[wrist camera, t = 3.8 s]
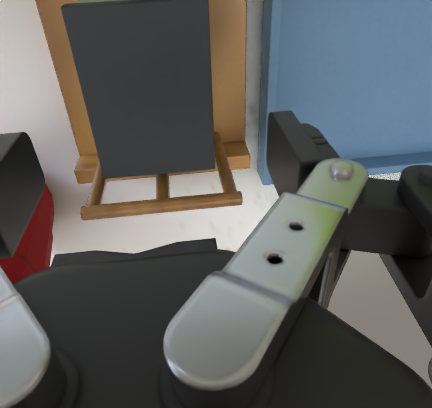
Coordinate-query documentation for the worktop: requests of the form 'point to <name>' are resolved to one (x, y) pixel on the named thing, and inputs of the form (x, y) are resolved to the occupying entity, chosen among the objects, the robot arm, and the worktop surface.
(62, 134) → the worktop surface
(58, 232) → the worktop surface
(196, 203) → the dish rack
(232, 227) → the worktop surface
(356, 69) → the tray
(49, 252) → the plastic cup
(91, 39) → the tub
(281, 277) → the robot arm
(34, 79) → the worktop surface
